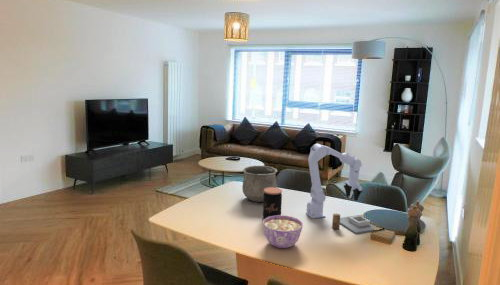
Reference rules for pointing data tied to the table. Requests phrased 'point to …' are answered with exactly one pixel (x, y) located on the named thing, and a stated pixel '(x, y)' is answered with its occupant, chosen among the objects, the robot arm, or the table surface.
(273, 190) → the coffee jar
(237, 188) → the table surface
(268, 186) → the pot
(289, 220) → the bowl of food
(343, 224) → the grey flat piece
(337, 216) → the walnut peg
